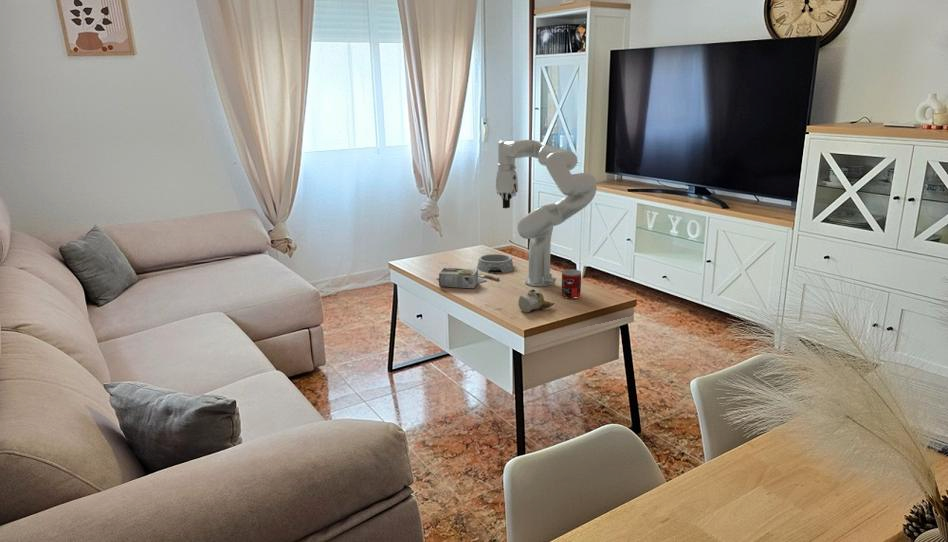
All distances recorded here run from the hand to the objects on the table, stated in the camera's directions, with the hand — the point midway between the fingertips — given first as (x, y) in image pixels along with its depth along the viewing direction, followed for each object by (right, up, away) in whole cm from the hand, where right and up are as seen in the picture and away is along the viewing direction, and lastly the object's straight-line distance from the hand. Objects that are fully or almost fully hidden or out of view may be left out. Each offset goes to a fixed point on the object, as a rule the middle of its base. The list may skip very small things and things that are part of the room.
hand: (506, 207), depth 286 cm
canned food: (+26, -40, -23) cm, 53 cm away
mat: (-21, -33, +1) cm, 39 cm away
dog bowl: (-4, -28, +21) cm, 35 cm away
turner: (-10, -32, +5) cm, 34 cm away
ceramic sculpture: (+9, -45, -38) cm, 59 cm away
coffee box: (-14, -33, -10) cm, 37 cm away
